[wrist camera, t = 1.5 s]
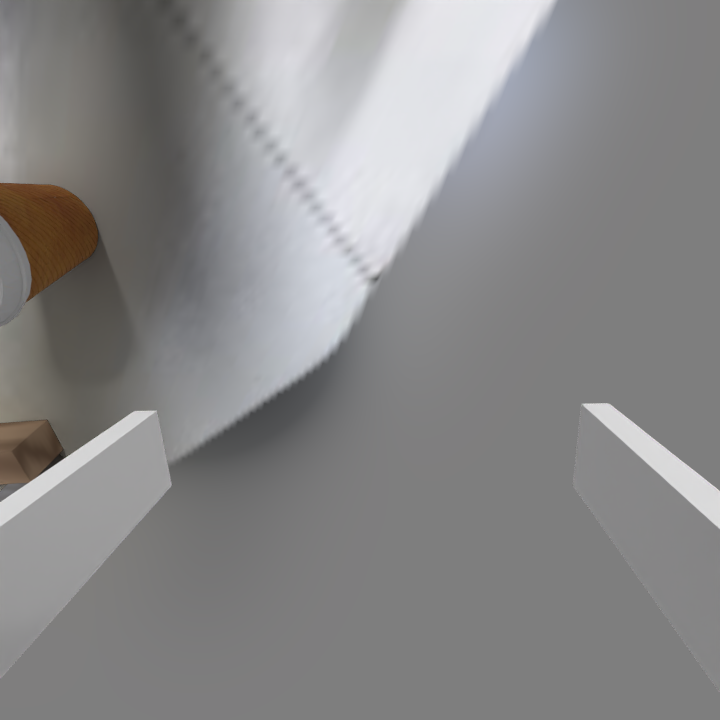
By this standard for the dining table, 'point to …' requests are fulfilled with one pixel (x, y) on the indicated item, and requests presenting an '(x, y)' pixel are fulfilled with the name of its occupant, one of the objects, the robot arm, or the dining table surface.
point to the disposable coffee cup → (39, 241)
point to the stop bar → (26, 453)
